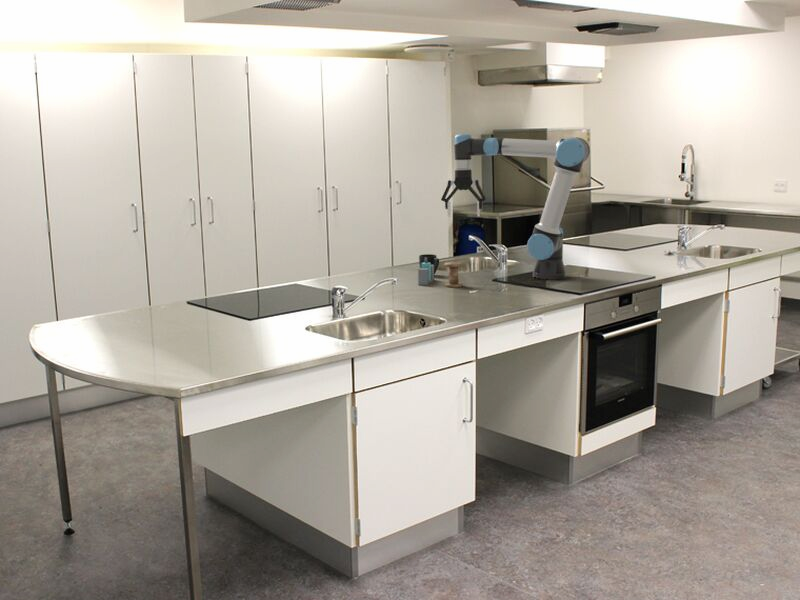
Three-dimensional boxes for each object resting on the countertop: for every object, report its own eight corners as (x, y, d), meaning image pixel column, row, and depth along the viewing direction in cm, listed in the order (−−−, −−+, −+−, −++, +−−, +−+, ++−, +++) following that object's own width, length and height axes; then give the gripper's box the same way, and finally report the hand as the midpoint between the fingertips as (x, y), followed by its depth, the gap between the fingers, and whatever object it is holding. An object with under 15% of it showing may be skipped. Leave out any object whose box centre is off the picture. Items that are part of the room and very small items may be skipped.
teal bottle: (431, 280, 396) (430, 257, 394) (429, 281, 393) (428, 258, 391) (423, 279, 397) (423, 257, 395) (421, 281, 394) (421, 258, 392)
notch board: (434, 279, 401) (433, 264, 400) (427, 285, 388) (427, 269, 386) (425, 279, 402) (425, 264, 401) (418, 285, 389) (418, 269, 388)
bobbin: (464, 284, 388) (464, 262, 386) (461, 287, 380) (460, 265, 378) (446, 284, 390) (446, 261, 388) (443, 287, 382) (442, 264, 380)
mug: (430, 278, 404) (430, 258, 403) (415, 275, 414) (415, 255, 412) (445, 276, 409) (444, 256, 407) (430, 273, 419) (429, 253, 417)
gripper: (492, 168, 394) (492, 215, 398) (437, 169, 400) (438, 215, 404) (489, 169, 387) (489, 217, 391) (434, 170, 393) (435, 217, 397)
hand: (463, 216), depth 398 cm, fingers open, 13 cm apart
